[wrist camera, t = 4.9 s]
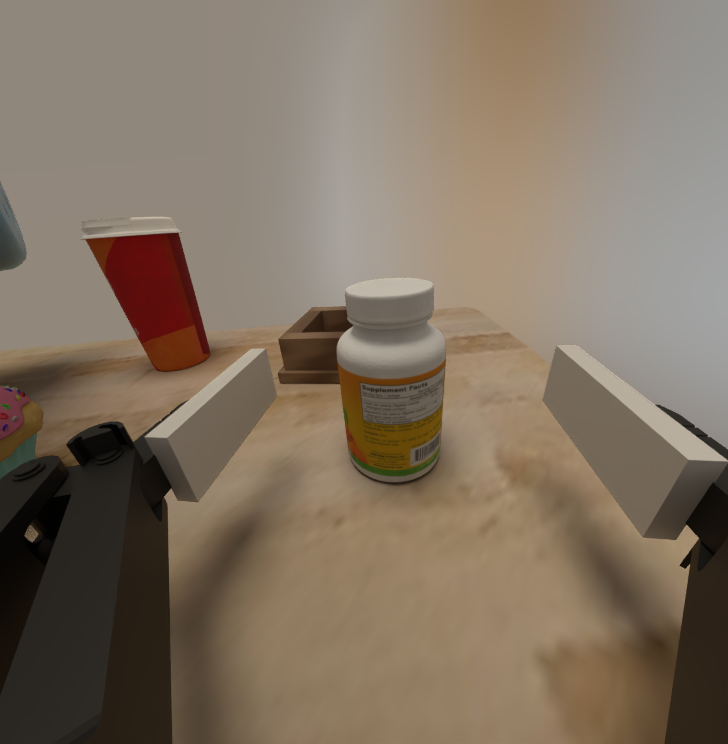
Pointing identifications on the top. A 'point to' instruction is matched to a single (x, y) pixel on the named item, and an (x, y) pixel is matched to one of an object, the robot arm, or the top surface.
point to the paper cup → (151, 286)
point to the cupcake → (17, 428)
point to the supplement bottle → (392, 378)
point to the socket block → (313, 346)
